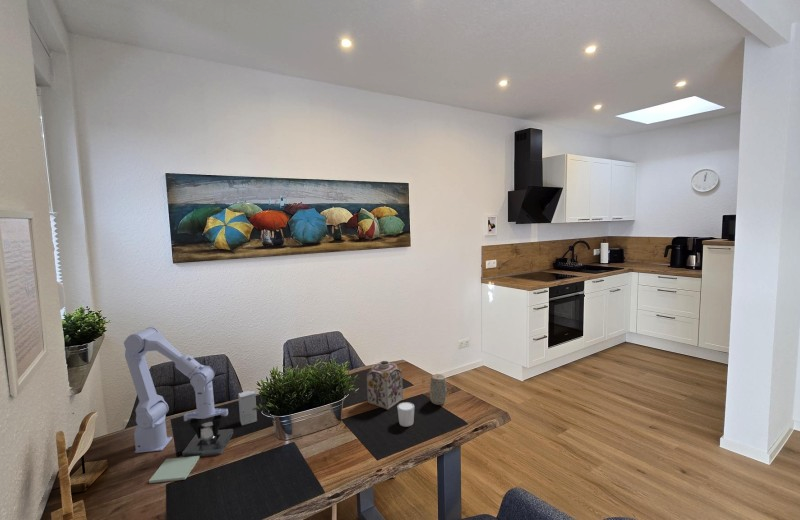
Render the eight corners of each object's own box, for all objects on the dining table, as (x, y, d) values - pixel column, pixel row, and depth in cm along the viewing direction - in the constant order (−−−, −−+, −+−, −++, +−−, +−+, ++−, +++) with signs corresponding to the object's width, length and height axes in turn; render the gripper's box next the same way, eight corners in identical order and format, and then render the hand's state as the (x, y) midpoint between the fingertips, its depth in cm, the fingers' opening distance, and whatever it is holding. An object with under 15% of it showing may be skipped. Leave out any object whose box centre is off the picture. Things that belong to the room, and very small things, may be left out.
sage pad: (149, 483, 120) (148, 480, 120) (166, 461, 131) (166, 459, 131) (185, 479, 121) (185, 477, 121) (199, 457, 132) (199, 455, 132)
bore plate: (182, 457, 133) (182, 452, 132) (198, 436, 145) (197, 431, 145) (221, 454, 134) (220, 448, 134) (233, 433, 147) (232, 428, 147)
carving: (443, 407, 161) (442, 380, 160) (427, 403, 165) (426, 377, 164) (449, 401, 167) (448, 375, 166) (433, 397, 171) (433, 371, 169)
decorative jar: (383, 392, 177) (382, 355, 175) (403, 399, 170) (402, 360, 168) (366, 403, 167) (365, 364, 165) (387, 410, 160) (386, 370, 158)
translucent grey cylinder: (199, 448, 137) (197, 430, 136) (203, 440, 142) (202, 422, 141) (214, 446, 138) (212, 428, 137) (218, 438, 143) (216, 421, 142)
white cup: (395, 425, 149) (394, 408, 148) (401, 416, 155) (401, 400, 154) (411, 428, 146) (410, 411, 145) (417, 419, 152) (416, 403, 152)
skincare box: (242, 426, 152) (239, 397, 151) (239, 421, 156) (237, 393, 154) (257, 421, 155) (255, 393, 154) (255, 416, 159) (253, 389, 158)
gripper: (228, 393, 143) (231, 427, 145) (187, 398, 140) (190, 432, 142) (224, 402, 136) (227, 437, 138) (180, 407, 133) (183, 443, 135)
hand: (208, 435), depth 139 cm, fingers closed on translucent grey cylinder, 5 cm apart
